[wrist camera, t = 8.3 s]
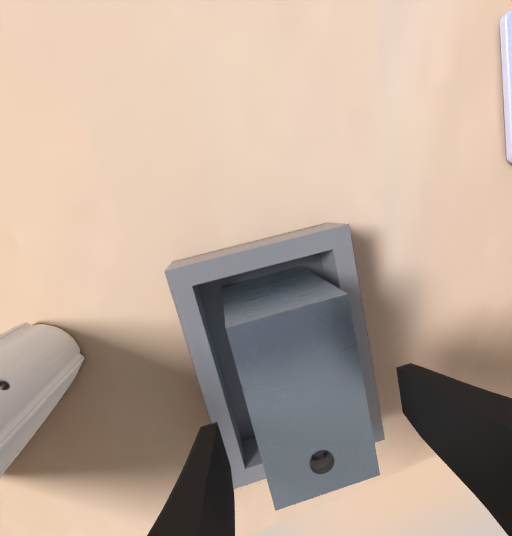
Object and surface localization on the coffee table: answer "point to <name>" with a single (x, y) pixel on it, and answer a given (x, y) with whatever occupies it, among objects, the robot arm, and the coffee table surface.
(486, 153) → the coffee table surface
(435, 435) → the robot arm
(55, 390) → the photo printer
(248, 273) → the lock cradle
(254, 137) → the coffee table surface
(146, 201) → the coffee table surface
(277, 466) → the block
